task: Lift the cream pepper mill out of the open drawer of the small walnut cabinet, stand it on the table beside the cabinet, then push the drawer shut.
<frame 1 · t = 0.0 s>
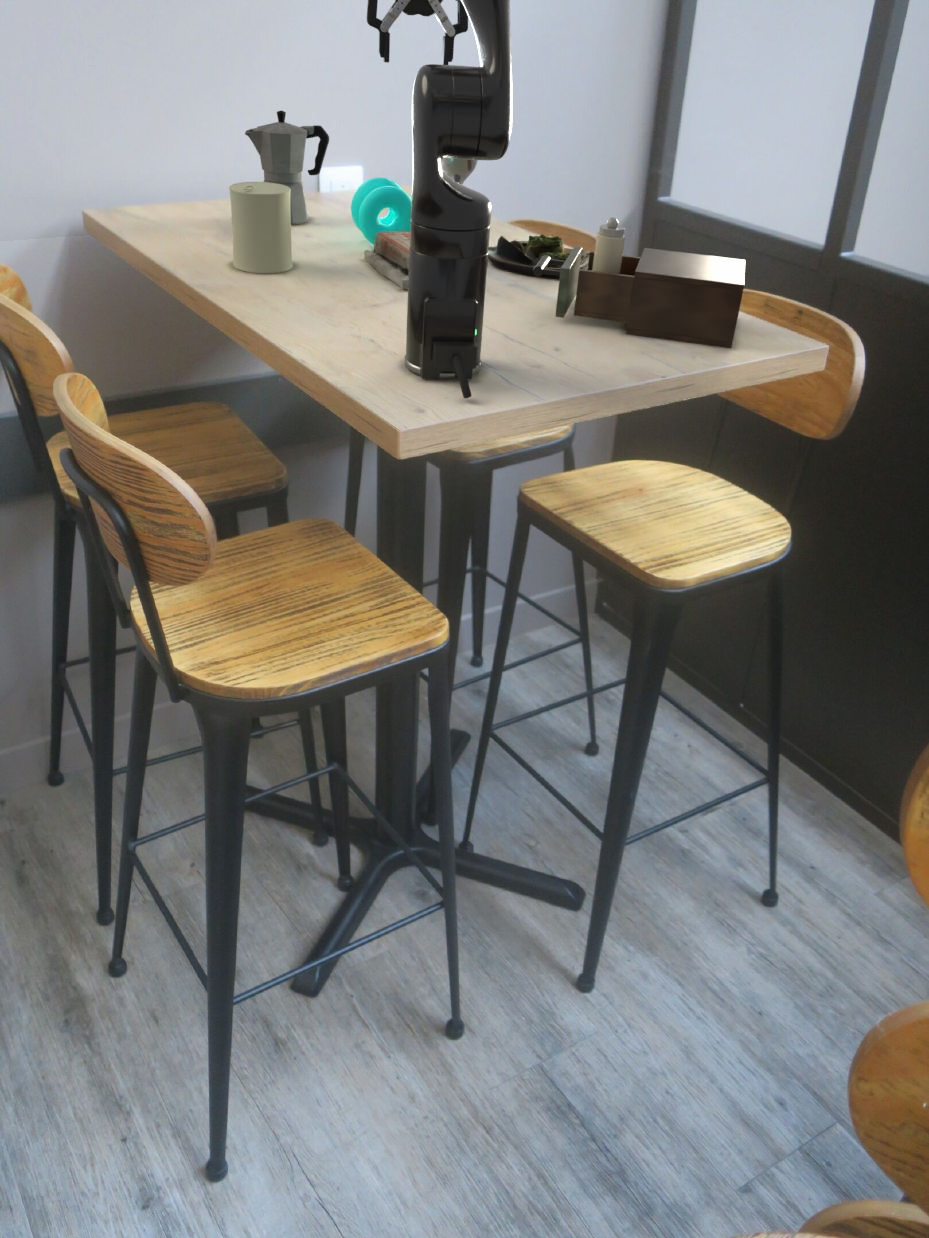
hand: (415, 64, 151), 29 cm above the table, tool pointing down, fingers open, 8 cm apart
salad plate: (536, 266, 175), on the table
donuts: (383, 244, 181), on the table
coffeepot: (289, 220, 192), on the table
drawer: (596, 284, 151), point 4 cm above the table, slide at 9.0 cm, touching pepper mill
pepper mill: (601, 301, 152), point 2 cm above the table, touching drawer
cabinet: (681, 326, 151), on the table
wine glass: (454, 221, 199), on the table
packaged product: (410, 275, 165), on the table
can: (263, 267, 164), on the table
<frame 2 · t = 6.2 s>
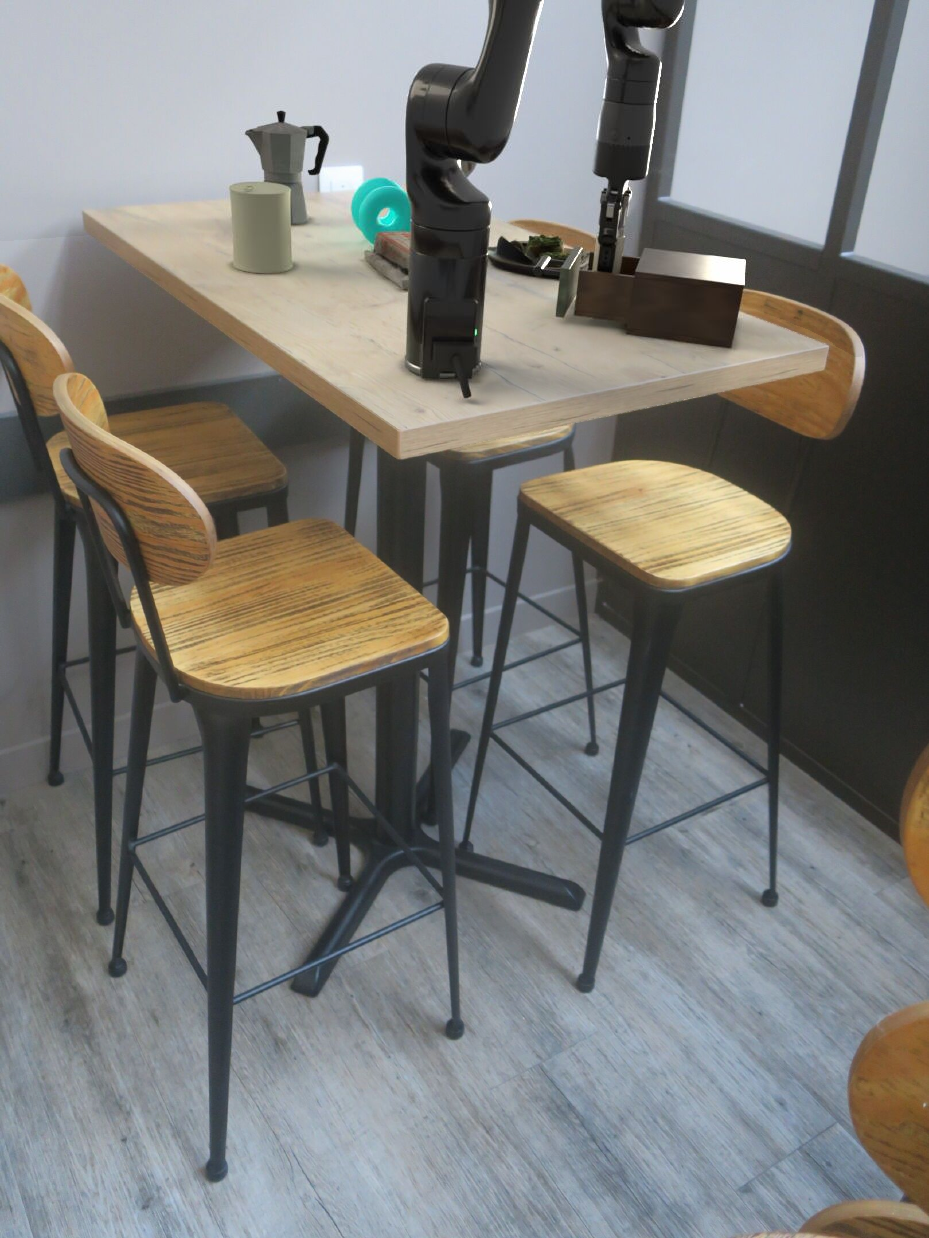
hand: (606, 268, 149), 7 cm above the table, tool pointing down, fingers closed on pepper mill, 4 cm apart
pepper mill: (601, 301, 152), point 2 cm above the table, touching drawer, gripper
everything else where it was.
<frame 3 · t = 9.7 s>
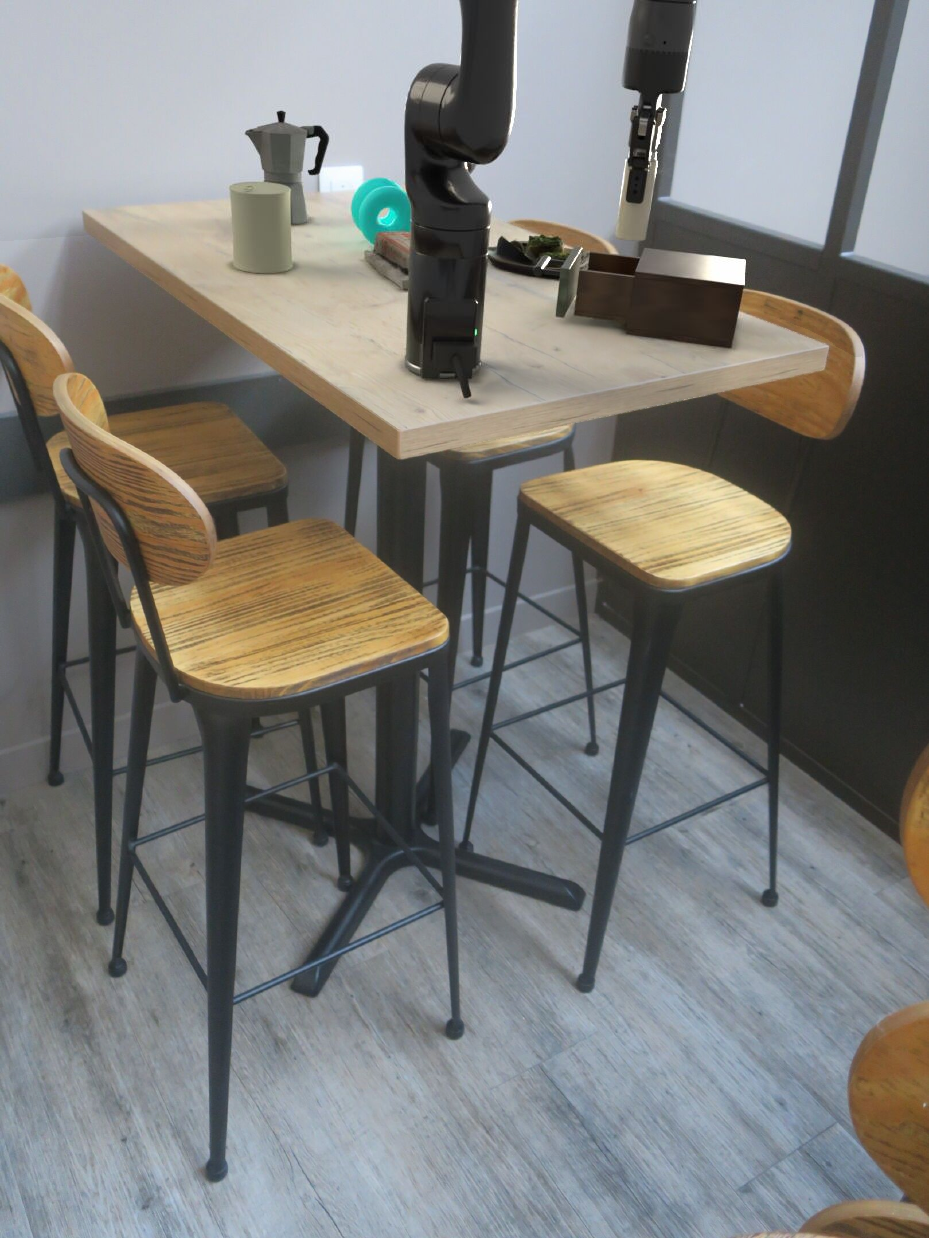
hand: (635, 198, 132), 19 cm above the table, tool pointing down, fingers closed on pepper mill, 4 cm apart
drawer: (596, 284, 151), point 4 cm above the table, slide at 9.0 cm
pepper mill: (630, 237, 135), point 14 cm above the table, touching gripper
everything else where it was.
when the fingers open (5 cm above the table, at t = 13.2 s): pepper mill stays where it is, on the table.
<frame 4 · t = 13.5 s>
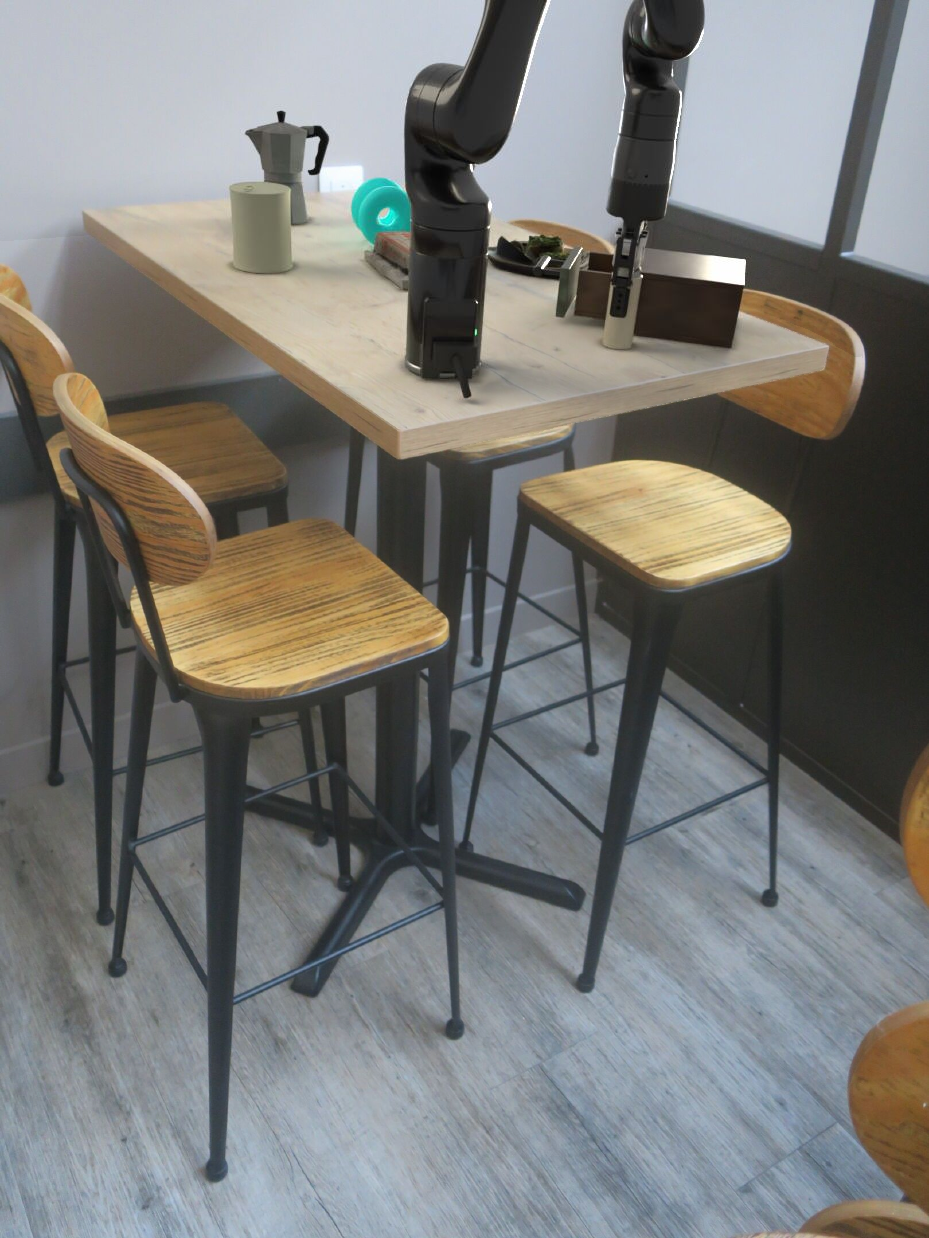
hand: (620, 309, 139), 5 cm above the table, tool pointing down, fingers open, 6 cm apart
pepper mill: (616, 344, 142), on the table
everything else where it was.
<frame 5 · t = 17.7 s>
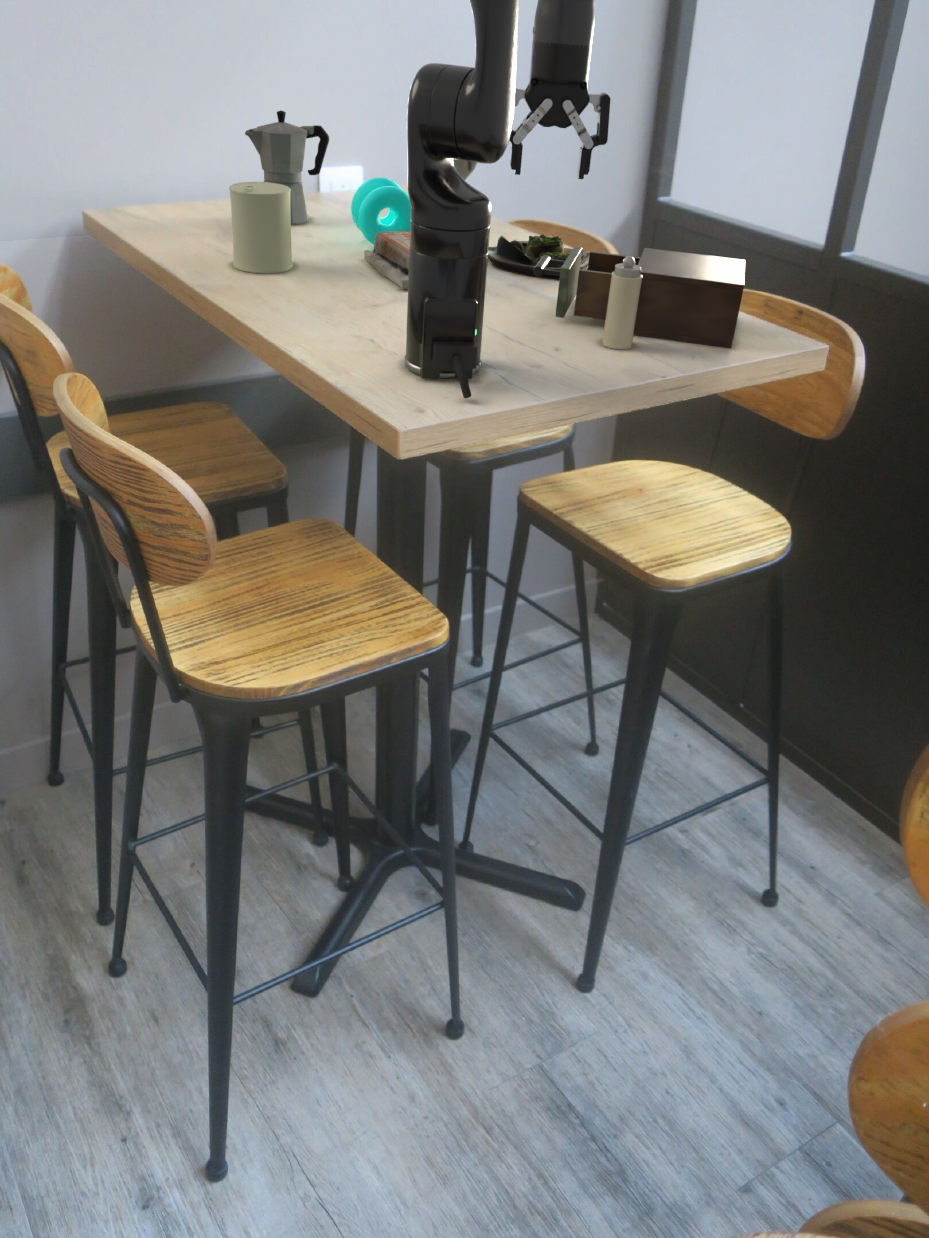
hand: (548, 176, 141), 19 cm above the table, tool pointing down, fingers open, 8 cm apart
nothing on the table moved.
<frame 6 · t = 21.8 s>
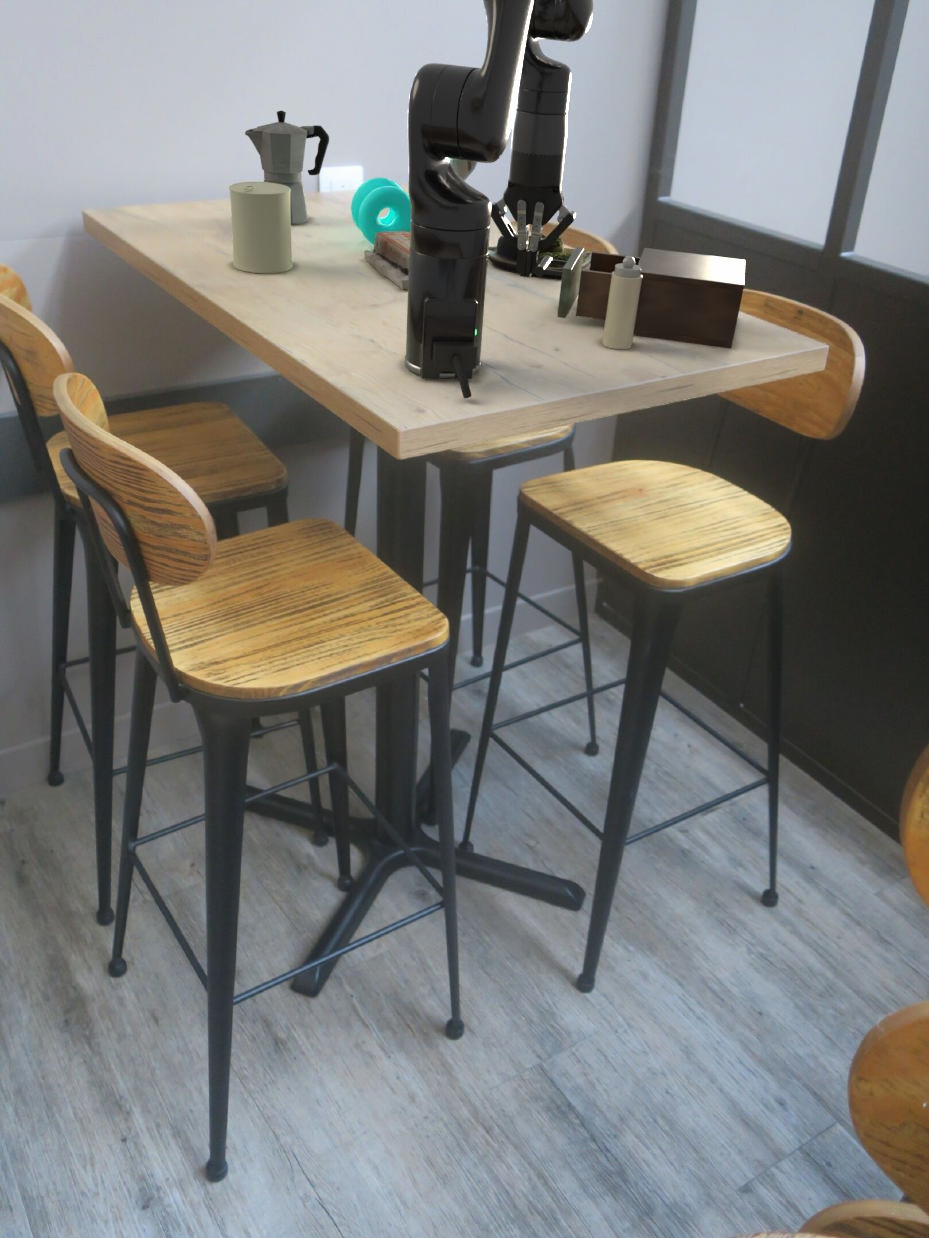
hand: (526, 275, 152), 4 cm above the table, tool pointing down, fingers closed
drawer: (598, 285, 151), point 4 cm above the table, slide at 8.7 cm, touching gripper
everything else where it was.
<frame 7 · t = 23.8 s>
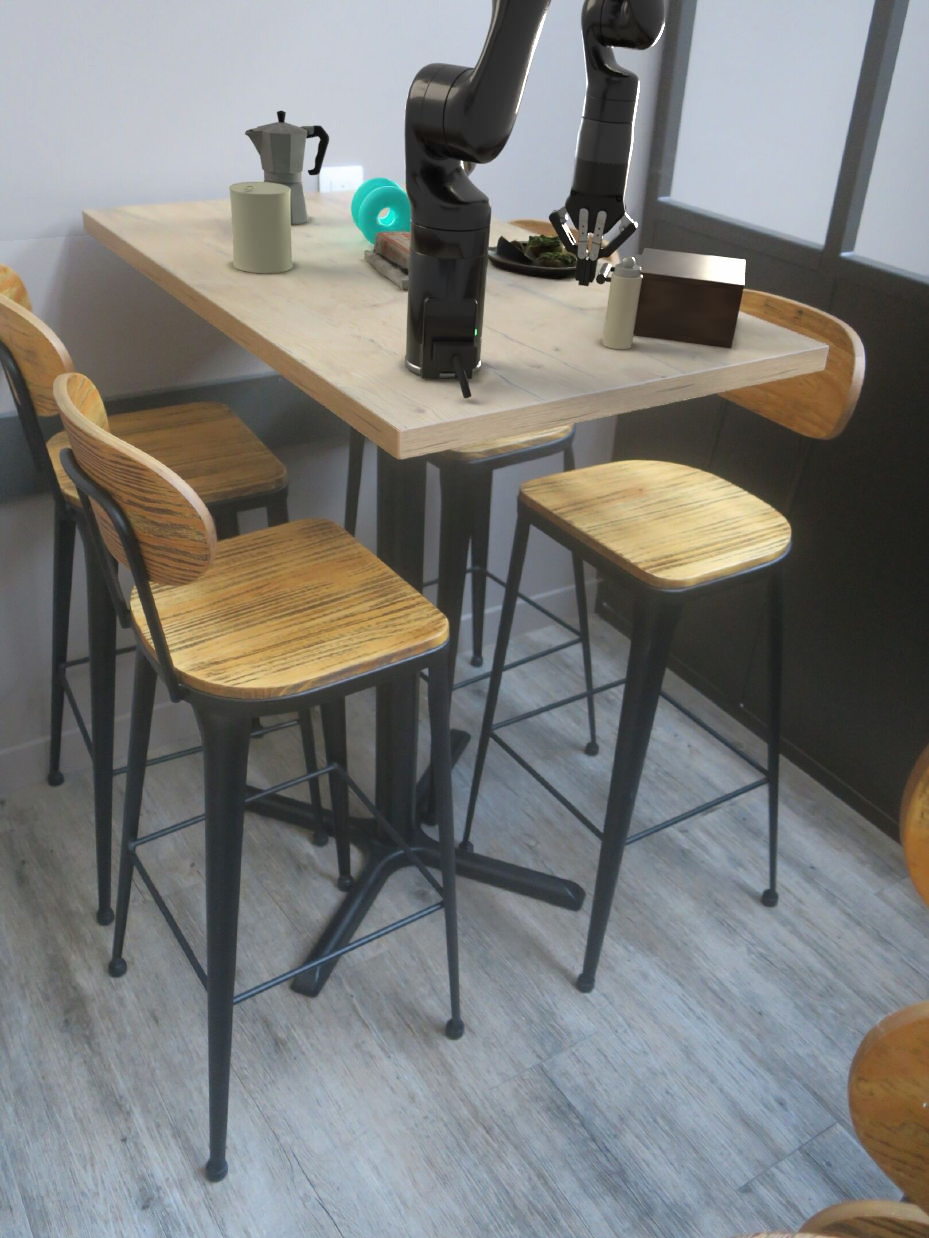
hand: (584, 284, 151), 4 cm above the table, tool pointing down, fingers closed
drawer: (659, 292, 149), point 4 cm above the table, slide at 0.0 cm, touching cabinet, gripper
everything else where it was.
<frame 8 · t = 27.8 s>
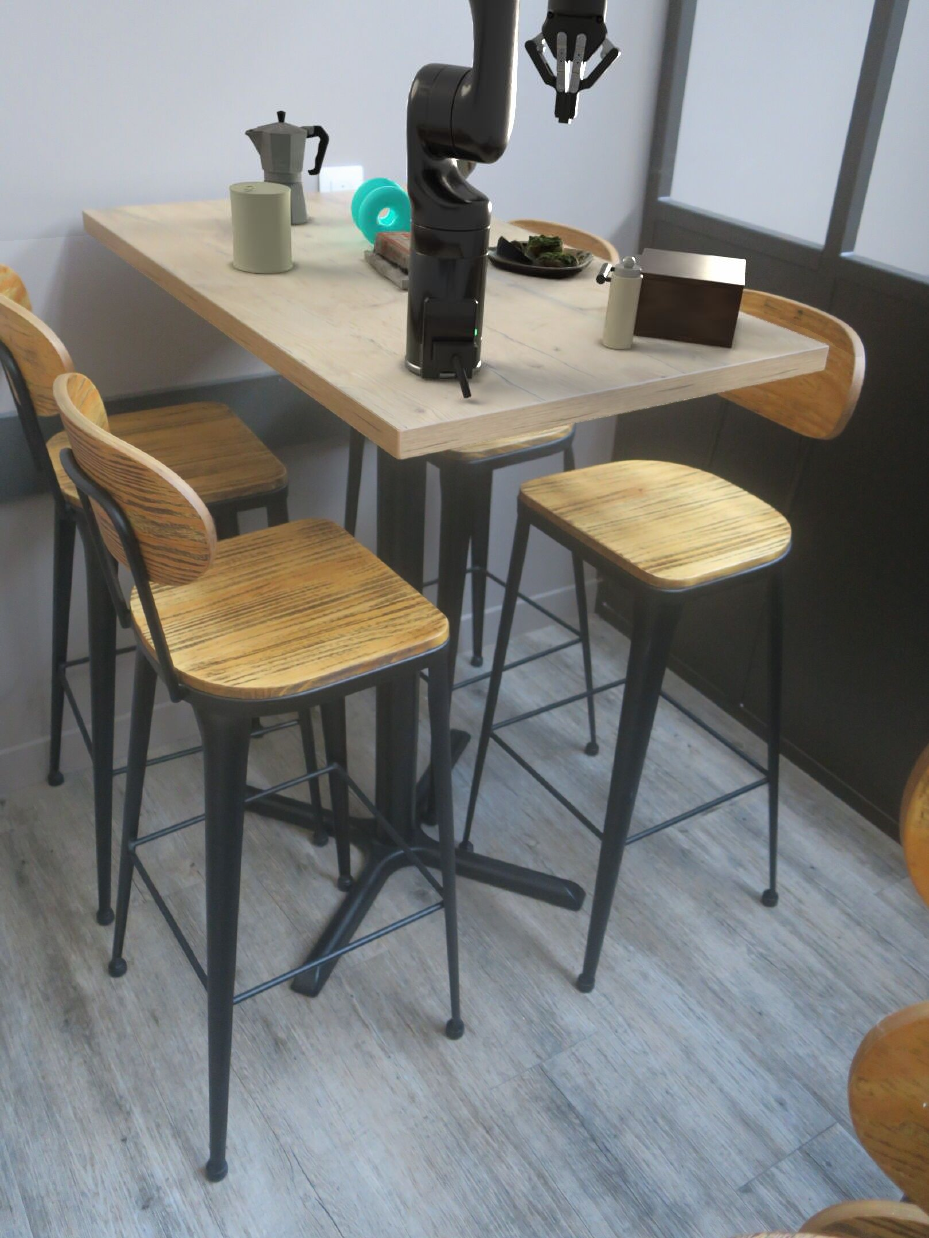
hand: (564, 122, 141), 25 cm above the table, tool pointing down, fingers closed
drawer: (659, 292, 149), point 4 cm above the table, slide at 0.0 cm, touching cabinet
everything else where it was.
at the end: pepper mill inside the target area (0.1 cm from its centre), on the table; pepper mill tilted 0°; drawer slide at 0.0 cm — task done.
